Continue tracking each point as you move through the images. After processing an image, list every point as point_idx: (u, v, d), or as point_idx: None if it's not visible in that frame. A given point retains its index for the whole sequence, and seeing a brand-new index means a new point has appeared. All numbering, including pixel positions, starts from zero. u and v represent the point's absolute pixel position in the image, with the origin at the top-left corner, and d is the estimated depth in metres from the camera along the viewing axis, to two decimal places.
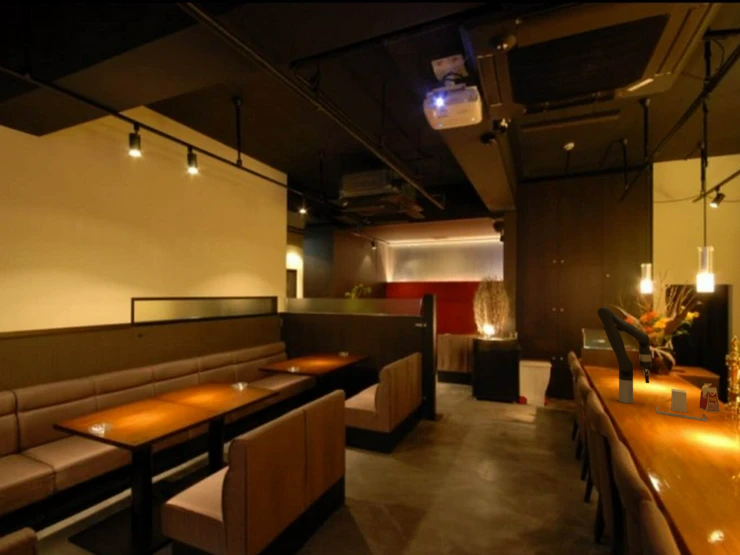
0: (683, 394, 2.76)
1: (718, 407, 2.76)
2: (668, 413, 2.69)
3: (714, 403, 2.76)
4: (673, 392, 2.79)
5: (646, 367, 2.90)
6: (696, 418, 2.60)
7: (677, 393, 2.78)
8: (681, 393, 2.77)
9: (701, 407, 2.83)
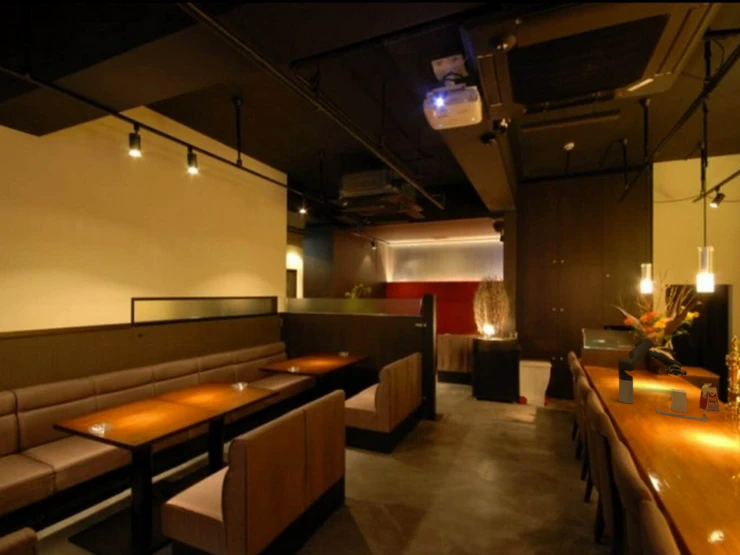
0: (683, 394, 2.76)
1: (718, 407, 2.76)
2: (668, 413, 2.69)
3: (714, 403, 2.76)
4: (673, 392, 2.79)
5: (681, 372, 3.07)
6: (696, 418, 2.60)
7: (677, 393, 2.78)
8: (681, 393, 2.77)
9: (701, 407, 2.83)
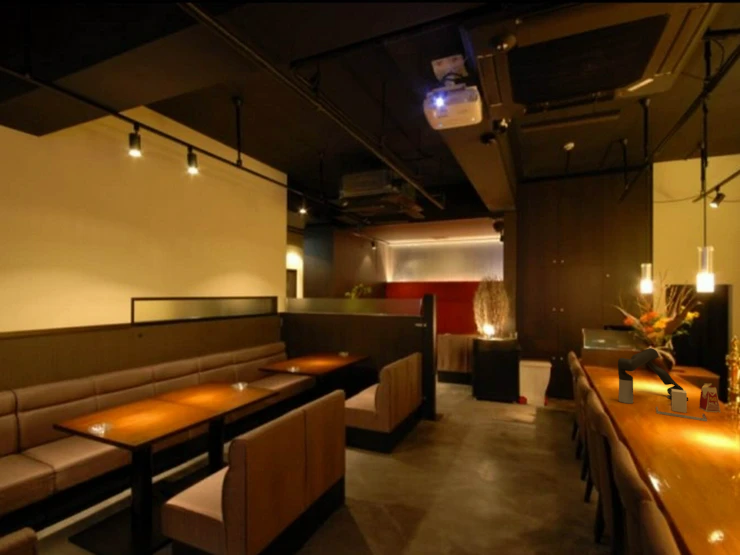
0: (683, 394, 2.75)
1: (718, 407, 2.76)
2: (668, 413, 2.69)
3: (714, 403, 2.76)
4: (673, 392, 2.78)
5: None
6: (696, 418, 2.60)
7: (677, 393, 2.77)
8: (681, 393, 2.76)
9: (701, 407, 2.83)
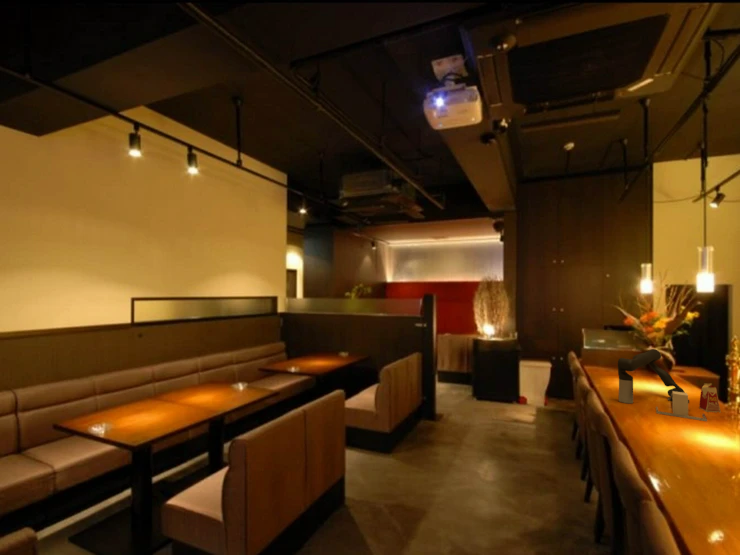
0: (685, 397, 2.69)
1: (718, 407, 2.76)
2: (668, 413, 2.69)
3: (714, 403, 2.76)
4: (674, 395, 2.72)
5: None
6: (696, 418, 2.60)
7: (678, 396, 2.71)
8: (682, 396, 2.70)
9: (701, 407, 2.83)
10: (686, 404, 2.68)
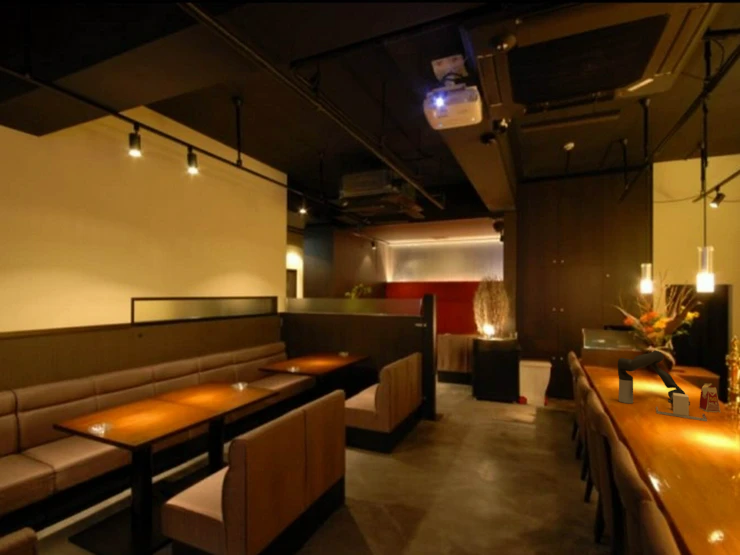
0: (685, 398, 2.65)
1: (718, 407, 2.76)
2: (668, 413, 2.69)
3: (714, 403, 2.76)
4: (675, 396, 2.68)
5: None
6: (696, 418, 2.60)
7: (679, 397, 2.67)
8: (683, 397, 2.66)
9: (701, 407, 2.83)
10: (687, 406, 2.64)
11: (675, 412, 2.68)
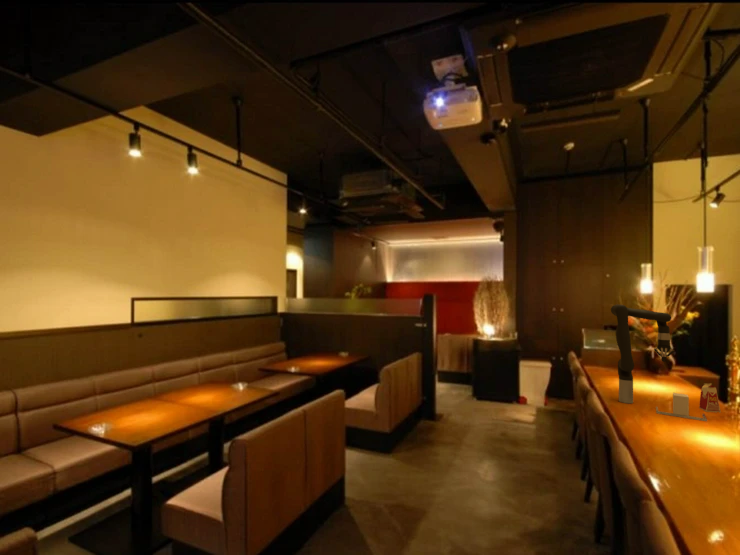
0: (685, 398, 2.65)
1: (718, 407, 2.76)
2: (668, 413, 2.69)
3: (714, 403, 2.76)
4: (675, 396, 2.68)
5: (669, 345, 2.95)
6: (696, 418, 2.60)
7: (679, 397, 2.67)
8: (683, 397, 2.65)
9: (701, 407, 2.83)
10: (687, 406, 2.64)
11: (675, 412, 2.68)
